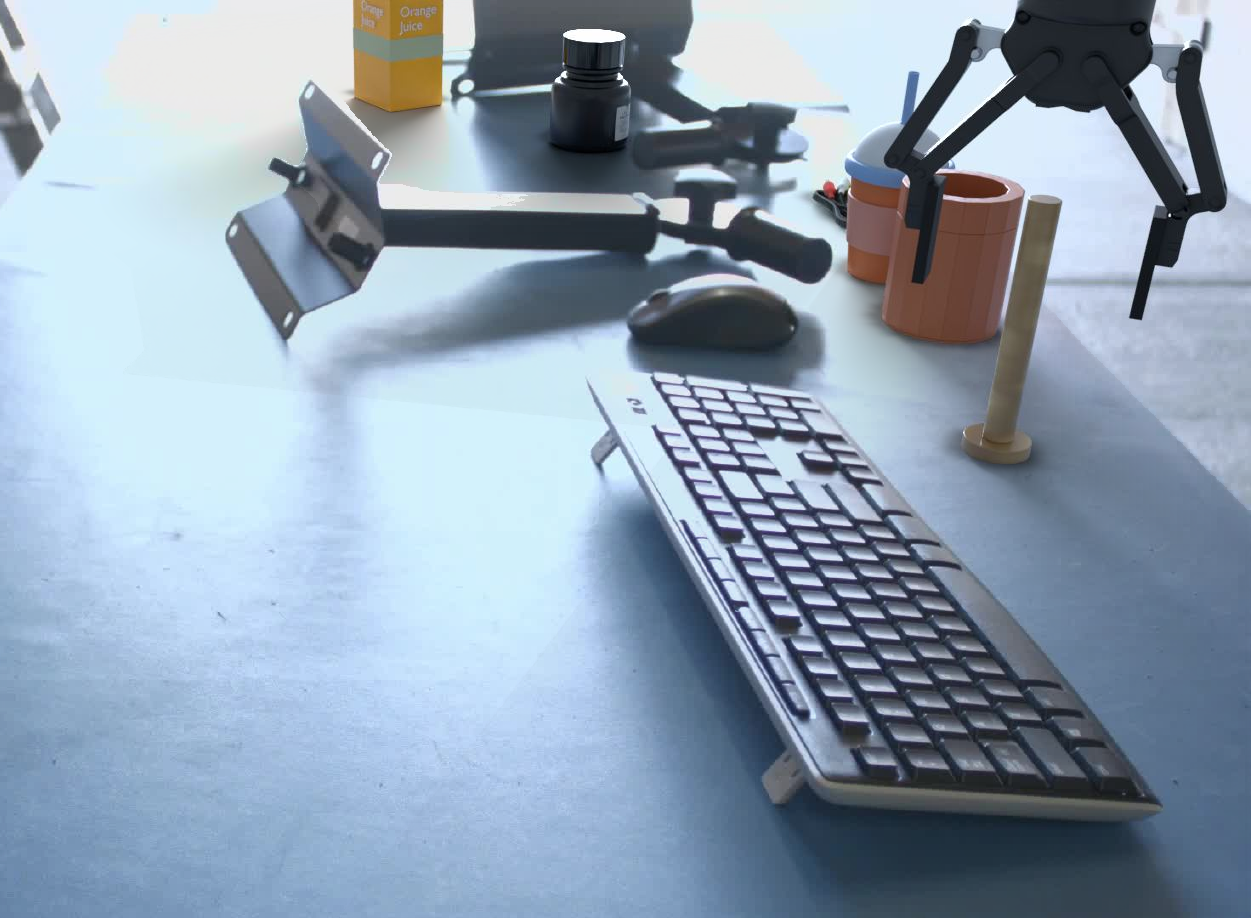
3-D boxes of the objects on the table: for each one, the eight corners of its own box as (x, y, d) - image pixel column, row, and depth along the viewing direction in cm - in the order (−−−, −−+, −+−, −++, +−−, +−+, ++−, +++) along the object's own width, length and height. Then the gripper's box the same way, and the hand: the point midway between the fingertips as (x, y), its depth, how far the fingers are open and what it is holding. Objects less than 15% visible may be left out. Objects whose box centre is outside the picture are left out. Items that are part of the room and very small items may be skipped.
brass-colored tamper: (1031, 450, 104) (1086, 195, 95) (1023, 477, 100) (1079, 213, 92) (965, 437, 105) (1013, 185, 97) (954, 463, 102) (1003, 203, 94)
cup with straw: (815, 261, 137) (842, 60, 129) (912, 259, 138) (944, 59, 130) (850, 298, 129) (881, 86, 121) (953, 295, 130) (990, 84, 122)
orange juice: (405, 89, 194) (406, -75, 185) (443, 104, 187) (445, -66, 178) (352, 97, 190) (350, -71, 181) (388, 112, 184) (388, -61, 175)
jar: (1003, 320, 125) (1031, 178, 120) (987, 358, 118) (1015, 209, 112) (892, 301, 129) (915, 163, 123) (870, 337, 121) (892, 192, 116)
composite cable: (863, 229, 146) (866, 204, 145) (812, 225, 147) (815, 201, 146) (859, 199, 154) (862, 175, 153) (811, 196, 155) (814, 172, 154)
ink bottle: (639, 152, 169) (647, 43, 164) (563, 156, 167) (569, 46, 162) (610, 130, 177) (617, 25, 172) (538, 134, 176) (543, 28, 170)
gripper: (1335, -45, 86) (1239, 308, 96) (893, -78, 95) (846, 246, 105) (1339, -26, 80) (1236, 350, 90) (867, -63, 89) (820, 280, 99)
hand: (1025, 294), depth 97 cm, fingers open, 12 cm apart
